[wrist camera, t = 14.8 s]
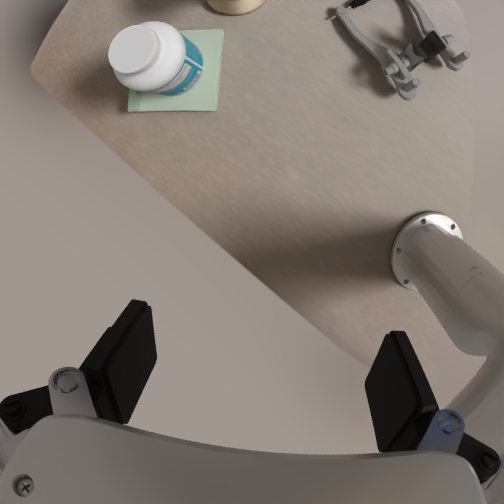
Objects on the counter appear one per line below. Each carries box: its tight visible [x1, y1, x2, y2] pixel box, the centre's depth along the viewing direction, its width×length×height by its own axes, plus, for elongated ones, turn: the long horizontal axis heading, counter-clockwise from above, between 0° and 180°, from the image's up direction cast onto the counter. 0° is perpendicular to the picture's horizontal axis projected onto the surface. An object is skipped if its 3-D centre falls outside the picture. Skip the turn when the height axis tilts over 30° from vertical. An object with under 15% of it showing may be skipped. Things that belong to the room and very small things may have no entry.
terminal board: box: [128, 29, 224, 112], centre depth 32 cm, size 11×11×3 cm
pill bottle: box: [108, 21, 205, 96], centre depth 26 cm, size 8×7×14 cm
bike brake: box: [330, 0, 471, 100], centre depth 26 cm, size 14×7×20 cm
